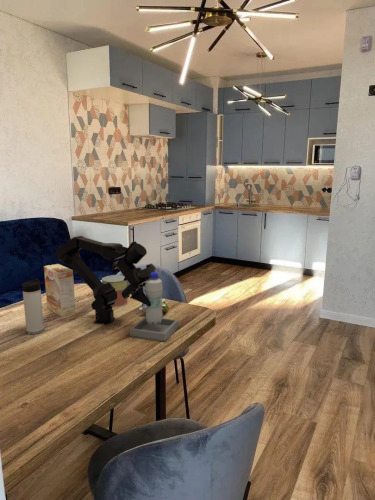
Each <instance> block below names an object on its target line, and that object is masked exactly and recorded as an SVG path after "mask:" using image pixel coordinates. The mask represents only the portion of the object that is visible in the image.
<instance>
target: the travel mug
mask: <svg viewBox="0 0 375 500" xmlns="http://www.w3.org/2000/svg"><path fill="white" fill-rule="evenodd" d="M21 286H22V287H21V288H22V300H23V307H24V319H25V328H26V329H25V330H26V333H27V334H28V333H29V334H28V335H38V334H37V333H39V334H40V333H43V332H44V331H45V324H44V323H45V322H44V314H43V302H42V291H41V282H40V279H39V278H34V279H30V280H27V281H24V282H23V283H22V284H21Z"/></svg>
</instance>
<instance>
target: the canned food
mask: <svg viewBox="0 0 375 500" xmlns="http://www.w3.org/2000/svg"><path fill="white" fill-rule="evenodd" d="M124 278H125V277H124V275H123V274H122V275H121V274H111V275H106V276H104V277H102V278H101V282H102V283H104V284H106V283H108V282H109V283H110V284H111V285H112V286H113V287H114V288H115V289H116V290H115V291H116V292H117V300H116V301H115V304H114V305H112V308H120V307H123V306H125V305H127V304H128V298H127V299H124V298H123V297H122V291H123V290H124V289H125V288H126V287H127V286H128V284H127V282H128V281H124Z"/></svg>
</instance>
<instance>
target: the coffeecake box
mask: <svg viewBox="0 0 375 500" xmlns="http://www.w3.org/2000/svg"><path fill="white" fill-rule="evenodd" d="M43 273H44V274H43V275H44V284H45V285H44V287H45V297H46V308H47V309H48V308H49V310H50V311H51V312H54V313H55V314H56V315H58V316H60V317H65V316H69V315H72V314H76V313H77V312H76V311H77V310H76V309H77V308H76V299H75V298H76V296H75V282H74V269H73V268H72V269H71V268H69V267H67V266H64V265H62V264H60V263H56V264H51V265H50V264H48V265H45V266H43Z"/></svg>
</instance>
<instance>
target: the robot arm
mask: <svg viewBox="0 0 375 500" xmlns="http://www.w3.org/2000/svg"><path fill="white" fill-rule="evenodd" d="M81 249H82V250H87V251H89V252H93V253H96V254H99V255H101V256H102V258H104V259H105V260H108V261H109V262H110V261H114V262H112V270H113V271H114V270H116V269H118V270H119V271H120V274H122V276H124V277H125V278H124V281H126V282H128V283H129V284H127V287H126V288H125V289H124V290H123V291H122V297H123V298H124V299H127V300H128V299H132V300H134V301H136V302H139V303H141V304H142V303H143V304H145V305H147V306H151V303H150V301H149V300H148V298H147V297H146V293H145V289H144V288H145V284H146V280H148V279H150V278H149V276H151V273H152V272H156V269H157V268H156V267H155V265H154V264H153V263H149V264H147V265H146V267H145V268H143V269H142V268H141V267H137V266H136V264H138V263H140V261H141V260H142V259H143V258H144V257H145V256H146V255H147V254H148V253H147V249H146V247H145V246H143V244H141V243H138V242H137V241H135V240H134V241H132V242H130V244H129V246H128V247H126V246H123V244H121V243H117V242H102V241H99V240H95V239H92V238H91V239H90V238H88V237H84V236H83V235H78V236H73V237H72V238H70V239H69V240H68V241H66V242H65V243H63V244H62V245H61V246H58V247H56V249H55V257H56V258H57V259H58V260H59V261H60V262H61V263H63V264H64V265H66V266H70V267H71V268H72V270H73V271H75V273H76V274H77V275H78V276H79V278H80V279H82V281H83V282H84V283H85V284H86V285H87V286H88V287H89V289H90V290H91V291H92V293H93V294H92V296H93V298H94V300H93V301H92V303H91V304H90V306H91V308H92V310H94V313H95V319H94V321H93V323H94V324H100V325H109V324H111V323H112V322H114V320H115V319H116V318H115V315H114V313H115V312H114V309H113V307H112V305H114V304H115V301H116V300H117V292H116V291H115V290H116V289H115V288H114V287H113V286H112V285H111V284H110V283H109V282H108V283H106V284H104V283H102V280H101V279H100V278H99V277H98V276H97V275H96V274H95V273H94V272H93V271H92V270H91V269H90V267H89V266H87V264H86V263H85V262H84V261H83V259H81V256H80V252H79V251H80V250H81ZM117 259H118V260H117ZM115 260H117V261H115ZM158 279H160V276H159V275H158Z"/></svg>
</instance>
